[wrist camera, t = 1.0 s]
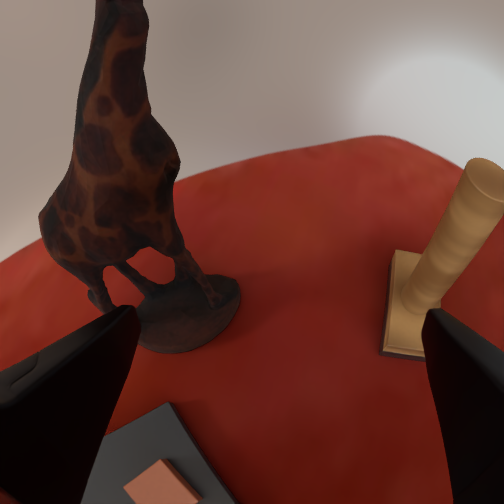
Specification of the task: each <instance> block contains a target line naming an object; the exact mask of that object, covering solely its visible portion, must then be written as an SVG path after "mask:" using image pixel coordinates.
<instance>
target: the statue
mask: <svg viewBox="0 0 504 504" xmlns="http://www.w3.org/2000/svg"><path fill="white" fill-rule="evenodd" d="M148 30H149V19H148V16H147V13H146V10H145V8H144V6H143V0H96V9H95V21H94V27H93V33H92V39H91V44H90V49H89V54H88V58H87V61H86V64H85V68H84V72H83V75H82V79H81V83H80V88H79V94H78V100H77V110H76V121H75V132H74V140H73V152H72V158H71V161H70V165H69V168H68V171H67V173H66V175H65V177H64V179H63V180H62V181H61V183H60V184H59V186H58V187H57V189H56V190H55V192H54V193H53V195H52V196H51V197H50V198H49V200H48V202H47V204H46V206H45V207H44V208H43V209H42V211H41V212H40V213H39V216H38V218H39V225H40V231H41V235H42V239H43V242H44V245H45V248H46V249H47V251H48V252H49V254H50V256H51V257H52V258H53V259H54V260H55V261H56V262H57V263H58V264H59V265H60V266H62V267H63V268H64V269H66V270H67V271H69V272H70V273H72V274H73V275H75V276H76V277H77V278H78V279H79V280H81V281H82V282H83V283H85V284H86V285H87V286H88V287H89V290H88V298H89V300H90V301H91V302H92V303H93V304H94V305H95V306H96V307H97V308H98V309H99V310H100V311H101V312H102V313H103V314H106V313H108V312H110V311H112V310H113V309H115V308H117V307H116V306H115V305H114V304H112V301H111V298H110V296H109V293H108V291H107V288H106V287H105V283H104V281H103V279H102V278H103V270H104V268H105V267H106V266H112V265H113V266H114V267H115V268H116V269H117V270H119V271H120V272H121V273H122V274H123V275H124V276H125V277H127V278H128V279H129V280H130V281H131V282H132V283H133V284H134V285H135V286H136V287H137V288H138V289H139V290H140V292H142V293H143V294H144V295H145V298H144V300H143V301H142V302H141V304H140V305H139V306H138V307H137V308H135V309H136V312H137V315H138V318H139V322H140V325H141V334H140V337H139V341H138V344H139V345H141V346H143V347H145V348H147V349H150V350H152V351H156V352H159V353H181V352H187V351H190V350H193V349H195V348H197V347H199V346H201V345H203V344H206V343H208V342H209V341H211V340H212V339H213V338H214V337H215V336H217V335H218V334H219V333H221V332H222V331H223V330H224V329H225V327H226V326H227V325H228V324H229V322H230V321H231V319H232V318H233V317H234V315H235V313H236V311H237V308H238V306H239V303H240V287H239V285H238V283H237V281H236V280H235V279H231V278H228V277H226V276H222V275H218V274H214V275H206V274H203V272H202V270H201V269H200V267H199V266H198V264H197V263H196V262H195V260H194V259H193V258H192V256H191V253H190V252H189V251H188V250H187V249H186V248H185V244H184V239H183V236H182V234H181V231H180V229H179V227H178V225H177V222H176V219H175V216H174V205H173V185H174V181H175V179H176V177H177V174H178V172H179V169H180V163H181V161H180V158H179V156H178V152H177V149H176V147H175V145H174V142H173V141H172V139H171V138H170V137H169V136H168V134H167V133H166V132H165V130H164V129H163V128H162V126H161V125H160V124H159V123H158V122H157V121H156V120H155V118H154V117H153V116H152V115H151V106H150V103H149V100H148V94H147V86H146V80H145V76H144V70H143V67H144V62H145V54H146V42H147V36H148ZM149 246H150V247H152V248H154V249H155V250H157V251H159V252H160V253H162V254H164V255H165V256H168V257H171V258H173V259H174V262H175V275H176V276H175V278H174V280H173V281H171V282H169V283H167V284H165V285H164V284H156V283H154V282H152V281H150V280H148V279H147V278H146V277H144V276H142V275H140V273H139V272H138V271H137V270H136V269H134V268H132V267H131V266H130V265H129V264H128V263H127V262H126V260H127V259H129V258H131V257H133V256H134V255H135V254H136V253H137V252H138V251H139V250H140V249H142V248H146V247H149Z"/></svg>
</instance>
